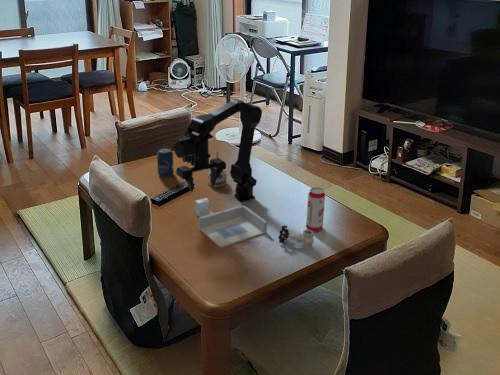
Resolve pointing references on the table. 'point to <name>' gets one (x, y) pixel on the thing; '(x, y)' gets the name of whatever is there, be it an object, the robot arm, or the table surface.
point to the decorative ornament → (221, 178)
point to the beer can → (315, 209)
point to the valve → (298, 238)
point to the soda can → (165, 162)
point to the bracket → (202, 207)
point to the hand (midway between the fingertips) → (201, 188)
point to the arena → (232, 225)
